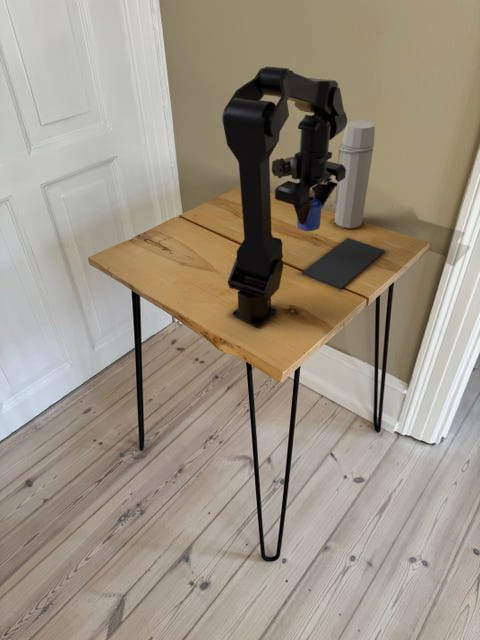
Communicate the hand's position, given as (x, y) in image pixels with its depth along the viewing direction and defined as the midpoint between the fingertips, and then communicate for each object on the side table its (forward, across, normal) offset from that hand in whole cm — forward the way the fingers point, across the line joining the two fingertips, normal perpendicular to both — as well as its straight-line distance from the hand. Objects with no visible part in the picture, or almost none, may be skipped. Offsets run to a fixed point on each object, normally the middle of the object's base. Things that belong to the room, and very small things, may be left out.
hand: (308, 219), depth 103 cm
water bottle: (+10, -20, -2) cm, 23 cm away
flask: (+2, 0, 0) cm, 2 cm away
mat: (+10, -4, +8) cm, 13 cm away
